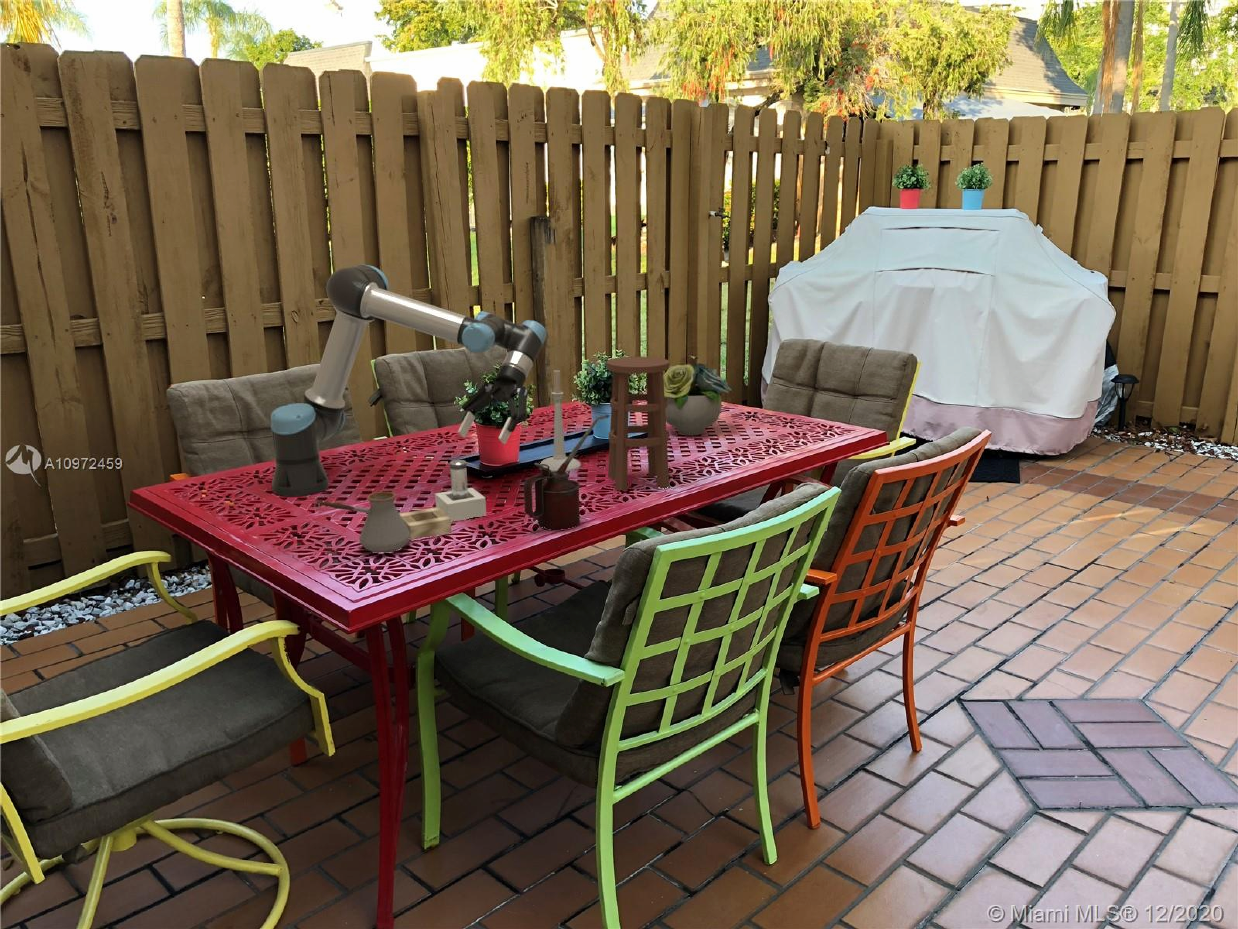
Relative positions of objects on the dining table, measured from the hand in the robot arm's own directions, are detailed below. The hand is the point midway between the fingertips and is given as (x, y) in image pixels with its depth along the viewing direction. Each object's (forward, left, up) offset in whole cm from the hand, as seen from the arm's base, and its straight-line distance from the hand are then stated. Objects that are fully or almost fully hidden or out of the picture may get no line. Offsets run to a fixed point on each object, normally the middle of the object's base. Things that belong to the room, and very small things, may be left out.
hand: (481, 437), depth 231 cm
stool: (+45, -5, -18) cm, 49 cm away
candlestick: (+33, +22, -18) cm, 44 cm away
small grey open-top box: (-8, -5, -18) cm, 20 cm away
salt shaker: (-8, -5, -18) cm, 20 cm away
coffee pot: (-36, -20, -18) cm, 45 cm away
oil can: (+15, -23, -18) cm, 33 cm away
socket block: (-20, -13, -18) cm, 30 cm away
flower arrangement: (+90, +36, -18) cm, 98 cm away
